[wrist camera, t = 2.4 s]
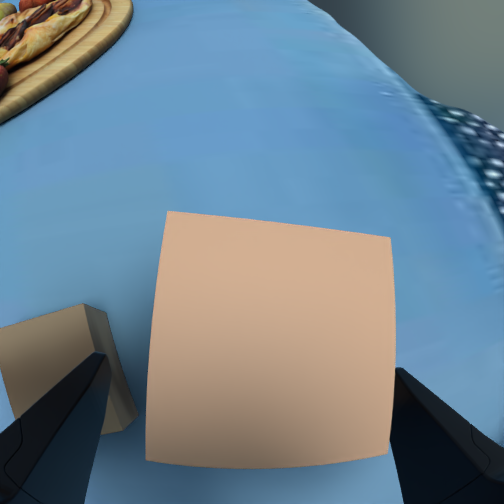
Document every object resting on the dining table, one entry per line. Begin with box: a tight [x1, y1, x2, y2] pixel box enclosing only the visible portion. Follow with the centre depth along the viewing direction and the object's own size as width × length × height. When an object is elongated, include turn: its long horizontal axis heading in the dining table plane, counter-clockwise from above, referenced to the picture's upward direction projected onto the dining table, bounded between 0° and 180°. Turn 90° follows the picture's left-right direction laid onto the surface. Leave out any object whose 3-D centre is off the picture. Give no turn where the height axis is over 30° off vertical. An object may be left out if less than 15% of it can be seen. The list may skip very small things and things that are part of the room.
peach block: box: [146, 211, 396, 469], centre depth 11 cm, size 5×5×12 cm
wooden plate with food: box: [0, 0, 133, 123], centre depth 20 cm, size 32×32×8 cm
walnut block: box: [0, 303, 139, 435], centre depth 14 cm, size 6×6×4 cm
